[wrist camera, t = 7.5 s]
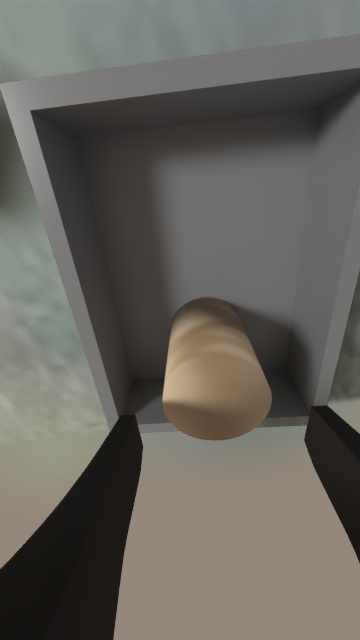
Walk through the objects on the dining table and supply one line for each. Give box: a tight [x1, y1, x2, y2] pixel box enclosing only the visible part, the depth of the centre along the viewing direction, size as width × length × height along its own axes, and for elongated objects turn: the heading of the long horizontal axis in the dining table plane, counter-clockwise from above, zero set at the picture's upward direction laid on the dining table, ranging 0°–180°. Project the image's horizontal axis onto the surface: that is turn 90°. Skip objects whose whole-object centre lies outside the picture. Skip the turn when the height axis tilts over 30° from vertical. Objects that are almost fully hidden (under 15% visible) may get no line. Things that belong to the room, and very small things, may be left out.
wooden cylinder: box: [162, 297, 272, 440], centre depth 14 cm, size 5×5×7 cm
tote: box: [0, 34, 360, 433], centre depth 14 cm, size 14×18×5 cm
